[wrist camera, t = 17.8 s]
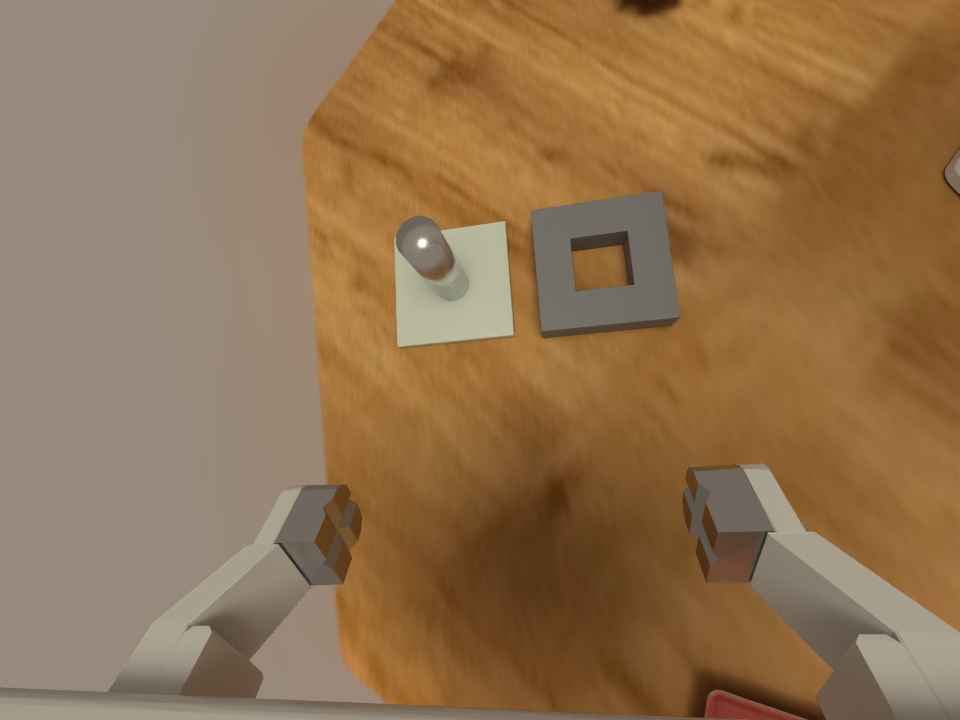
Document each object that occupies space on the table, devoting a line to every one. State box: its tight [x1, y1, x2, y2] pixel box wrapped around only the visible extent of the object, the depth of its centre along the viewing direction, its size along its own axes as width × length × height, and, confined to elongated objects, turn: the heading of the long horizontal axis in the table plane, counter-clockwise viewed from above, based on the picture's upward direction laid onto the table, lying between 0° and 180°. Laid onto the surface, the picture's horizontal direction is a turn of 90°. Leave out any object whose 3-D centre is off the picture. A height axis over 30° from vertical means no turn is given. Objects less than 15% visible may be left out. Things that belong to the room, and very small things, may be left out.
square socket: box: [531, 191, 680, 338], centre depth 41 cm, size 12×12×3 cm
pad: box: [394, 221, 515, 348], centre depth 45 cm, size 12×12×1 cm
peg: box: [396, 216, 469, 301], centre depth 39 cm, size 4×4×11 cm
